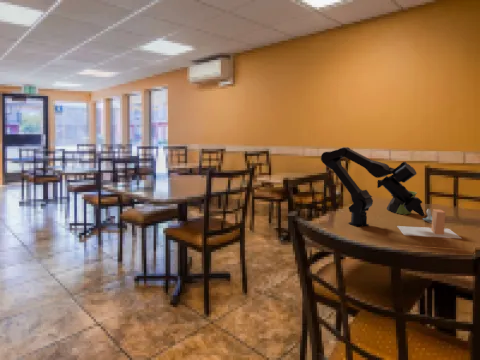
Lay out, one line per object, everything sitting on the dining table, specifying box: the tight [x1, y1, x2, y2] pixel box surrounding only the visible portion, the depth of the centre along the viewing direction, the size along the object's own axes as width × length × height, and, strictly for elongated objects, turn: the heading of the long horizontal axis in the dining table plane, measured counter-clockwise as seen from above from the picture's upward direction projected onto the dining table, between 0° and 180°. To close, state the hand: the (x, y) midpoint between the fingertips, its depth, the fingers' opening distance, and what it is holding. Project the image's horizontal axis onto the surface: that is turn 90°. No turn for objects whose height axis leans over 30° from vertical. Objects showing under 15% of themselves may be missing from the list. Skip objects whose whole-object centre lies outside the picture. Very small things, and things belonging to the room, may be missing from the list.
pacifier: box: [422, 208, 432, 224], centre depth 151 cm, size 7×6×6 cm
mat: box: [396, 225, 463, 239], centre depth 134 cm, size 20×14×1 cm
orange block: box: [430, 208, 446, 234], centre depth 133 cm, size 3×6×9 cm, turn 165°
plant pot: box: [396, 190, 418, 215], centre depth 169 cm, size 12×12×11 cm
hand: (423, 215), depth 134 cm, fingers closed
